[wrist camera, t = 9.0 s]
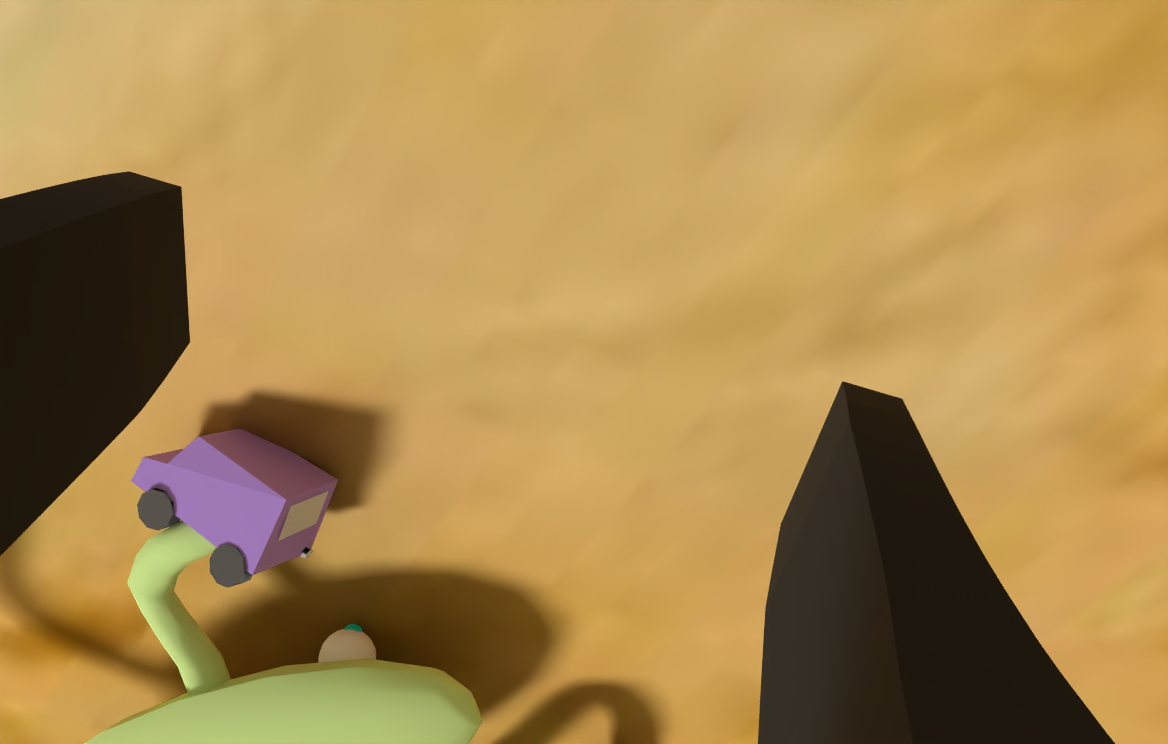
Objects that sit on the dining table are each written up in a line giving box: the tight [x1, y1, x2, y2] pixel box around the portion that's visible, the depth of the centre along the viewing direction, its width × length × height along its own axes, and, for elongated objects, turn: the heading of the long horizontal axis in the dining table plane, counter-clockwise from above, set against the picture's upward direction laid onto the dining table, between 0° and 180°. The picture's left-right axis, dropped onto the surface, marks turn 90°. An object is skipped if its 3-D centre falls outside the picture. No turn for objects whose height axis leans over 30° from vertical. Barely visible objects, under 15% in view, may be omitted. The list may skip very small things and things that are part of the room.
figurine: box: [84, 429, 482, 744], centre depth 30 cm, size 18×27×6 cm
